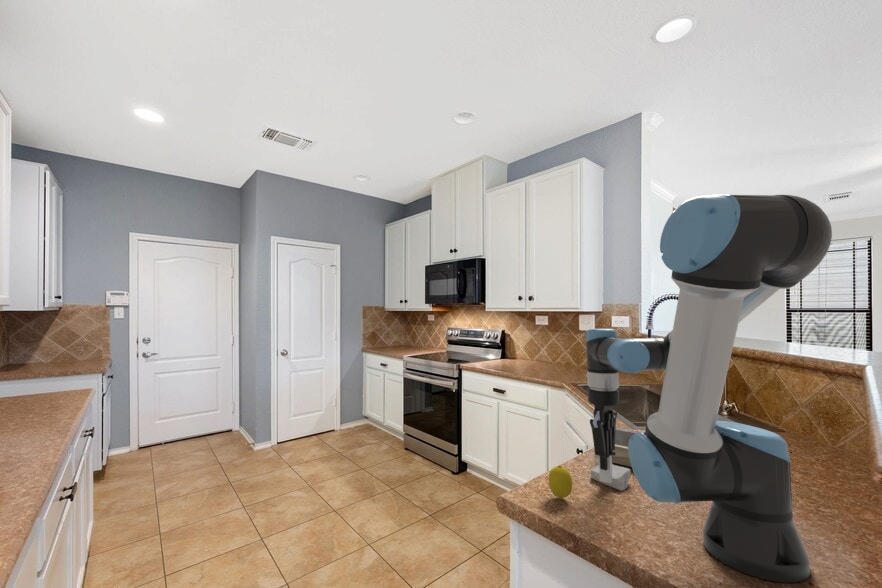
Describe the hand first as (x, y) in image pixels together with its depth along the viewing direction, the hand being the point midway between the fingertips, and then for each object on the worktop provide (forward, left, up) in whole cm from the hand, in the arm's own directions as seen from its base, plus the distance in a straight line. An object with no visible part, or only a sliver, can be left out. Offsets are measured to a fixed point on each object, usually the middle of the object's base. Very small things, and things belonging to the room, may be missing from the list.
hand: (606, 481), depth 99 cm
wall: (+26, 0, -2) cm, 26 cm away
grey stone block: (+4, 0, -2) cm, 5 cm away
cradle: (+14, 0, -2) cm, 14 cm away
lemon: (-13, +6, -2) cm, 15 cm away
